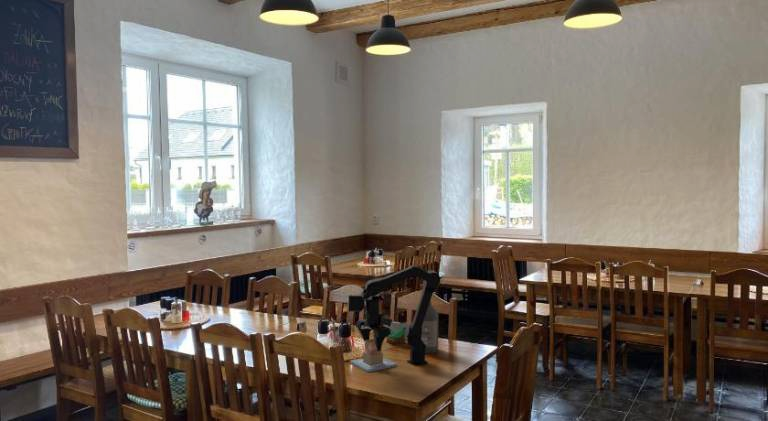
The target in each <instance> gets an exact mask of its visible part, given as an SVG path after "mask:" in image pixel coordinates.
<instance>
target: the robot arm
mask: <svg viewBox="0 0 768 421" xmlns="http://www.w3.org/2000/svg"><path fill="white" fill-rule="evenodd" d="M413 277H416V278H418V279H420V280H423V282H422V292H421V295H420V298H419V301H418V305H417V307H416V310H415V313H414V317H413V319H412V322H411V324H408V325H407V326H406V331H405V332H404V334H405V339H406V342H407V344H408V345H409V359H408V360H406V362H407V363H409V364H412V365H413V366H420V365H425V364H428V361H427V360H426V353H425V349H426V345H425V344H424V342H423V341H422V340H421V337H422V325H423V322H424V319H425V316H426V312H427V309H428V306H429V303H430V300H431V301H432V297H433V294H434V293H435V292H436V291H437V289H438V287H439V286H440V282H441V276H440V274H439V273H438V272H436V271H435V270H432V269H431V270H430V269H429V270H427V269H424V268H421V267H418V266H417V265H413V264H412V265H410V266H409V267H406V268H403V269H401V270H399V271H396V272H394V273H391V274H389V275H386V276H384V277H377V278H373V279H370V280H368V281H366V282H365V288H364V289H363V290H362V291H361V293H360V294H358V295H357V294H356V295H353V294H349V295H348V300H347V311H348V312H349V313H354V312H363V310H365V312H364V313H363V316H365V318H364V319H360V320H357V321H356V322H355V327H356V329H357V330H358V333H359V334H360V336H361V338H362V340H363V342H364V343H365V340H370V335H371V332H372V331H373V339H374V340H375V344H376V347H377V350H378V351H380V350H381V351H382V347H383V343H384V341H385V338H386V337H387V336H389V335H391V330H390V329H389V328H388V327H385V326H384V325H387V326H389V327H390V326H391V323H392V322H393V319H392V318H390V317H386V316H385V314H384V313H381V312H380V311H381V309H380V305H381V302H380V301H385V297H384V296H382V294H381V293H382V292H384V291H385V290H386V289H387V288H389V287H392V286H394V285H396V284H398V283H401V282H403V281H405V280H408V279H410V278H413Z"/></svg>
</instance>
